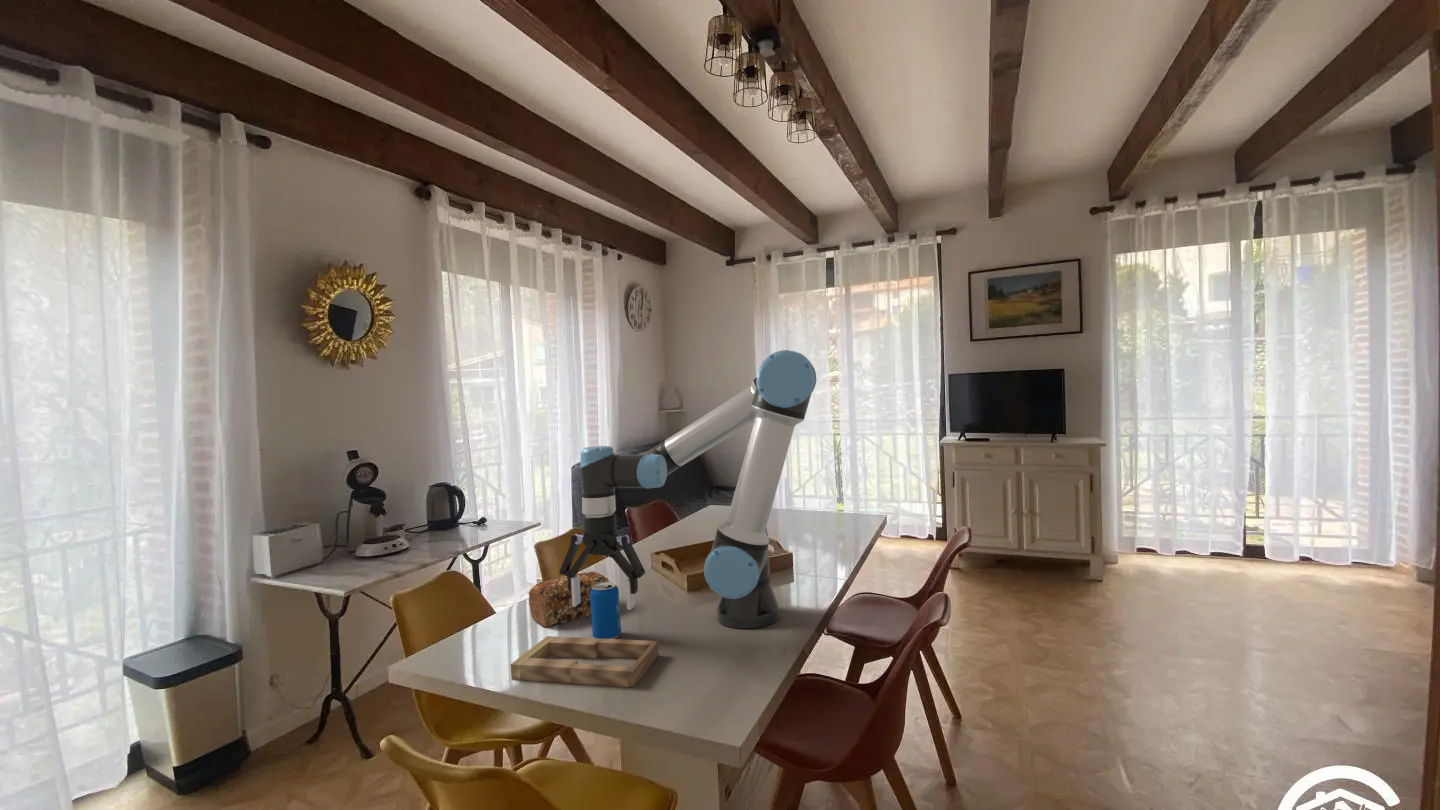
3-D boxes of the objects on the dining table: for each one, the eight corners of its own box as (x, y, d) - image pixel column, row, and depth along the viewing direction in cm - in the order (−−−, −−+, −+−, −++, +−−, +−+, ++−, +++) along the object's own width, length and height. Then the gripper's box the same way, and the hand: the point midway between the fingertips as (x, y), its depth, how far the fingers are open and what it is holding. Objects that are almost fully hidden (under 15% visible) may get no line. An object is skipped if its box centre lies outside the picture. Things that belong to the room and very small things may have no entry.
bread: (544, 630, 146) (542, 589, 146) (528, 619, 154) (526, 580, 154) (613, 609, 158) (611, 571, 157) (595, 600, 166) (593, 564, 166)
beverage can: (615, 643, 135) (611, 589, 135) (588, 642, 137) (584, 589, 137) (625, 631, 142) (622, 580, 142) (599, 631, 143) (596, 580, 143)
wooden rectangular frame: (658, 655, 128) (658, 641, 128) (633, 687, 114) (632, 671, 114) (548, 649, 134) (547, 636, 134) (511, 679, 121) (510, 664, 120)
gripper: (656, 511, 139) (660, 602, 140) (558, 510, 145) (562, 597, 146) (644, 518, 132) (648, 614, 133) (541, 516, 138) (546, 609, 139)
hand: (603, 606), depth 139 cm, fingers open, 13 cm apart
